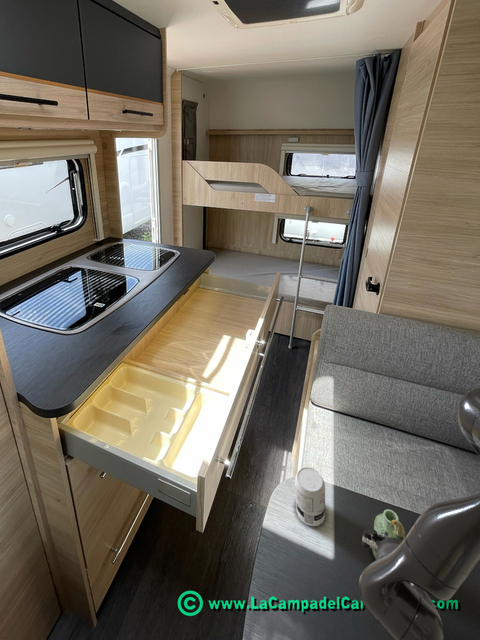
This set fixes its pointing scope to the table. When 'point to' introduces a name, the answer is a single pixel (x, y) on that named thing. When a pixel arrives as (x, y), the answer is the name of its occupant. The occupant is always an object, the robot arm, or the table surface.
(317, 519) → the supplement can
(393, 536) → the vegetable
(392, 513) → the green bottle
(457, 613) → the table surface
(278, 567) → the table surface
